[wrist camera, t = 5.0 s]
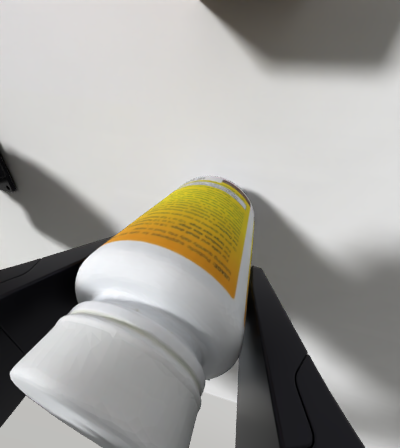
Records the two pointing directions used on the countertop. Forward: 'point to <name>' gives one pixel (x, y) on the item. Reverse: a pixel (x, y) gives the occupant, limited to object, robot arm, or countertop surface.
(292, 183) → the countertop surface
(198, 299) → the supplement bottle
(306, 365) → the robot arm
